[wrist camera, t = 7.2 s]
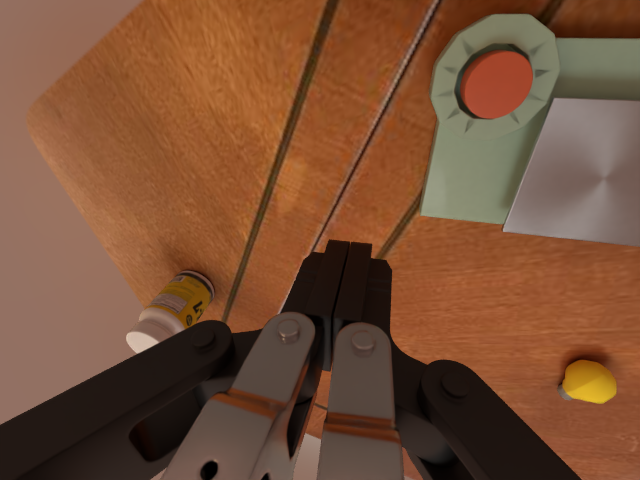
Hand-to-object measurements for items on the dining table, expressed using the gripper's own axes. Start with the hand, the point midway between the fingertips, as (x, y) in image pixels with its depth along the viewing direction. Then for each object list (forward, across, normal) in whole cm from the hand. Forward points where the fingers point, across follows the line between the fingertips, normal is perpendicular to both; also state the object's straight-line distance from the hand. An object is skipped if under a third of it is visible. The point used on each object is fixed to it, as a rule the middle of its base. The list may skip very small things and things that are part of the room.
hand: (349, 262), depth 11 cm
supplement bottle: (+14, +18, +16) cm, 28 cm away
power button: (+11, -6, -5) cm, 13 cm away
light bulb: (+14, -20, +20) cm, 32 cm away
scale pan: (+11, -13, 0) cm, 17 cm away
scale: (+14, -11, -1) cm, 17 cm away
